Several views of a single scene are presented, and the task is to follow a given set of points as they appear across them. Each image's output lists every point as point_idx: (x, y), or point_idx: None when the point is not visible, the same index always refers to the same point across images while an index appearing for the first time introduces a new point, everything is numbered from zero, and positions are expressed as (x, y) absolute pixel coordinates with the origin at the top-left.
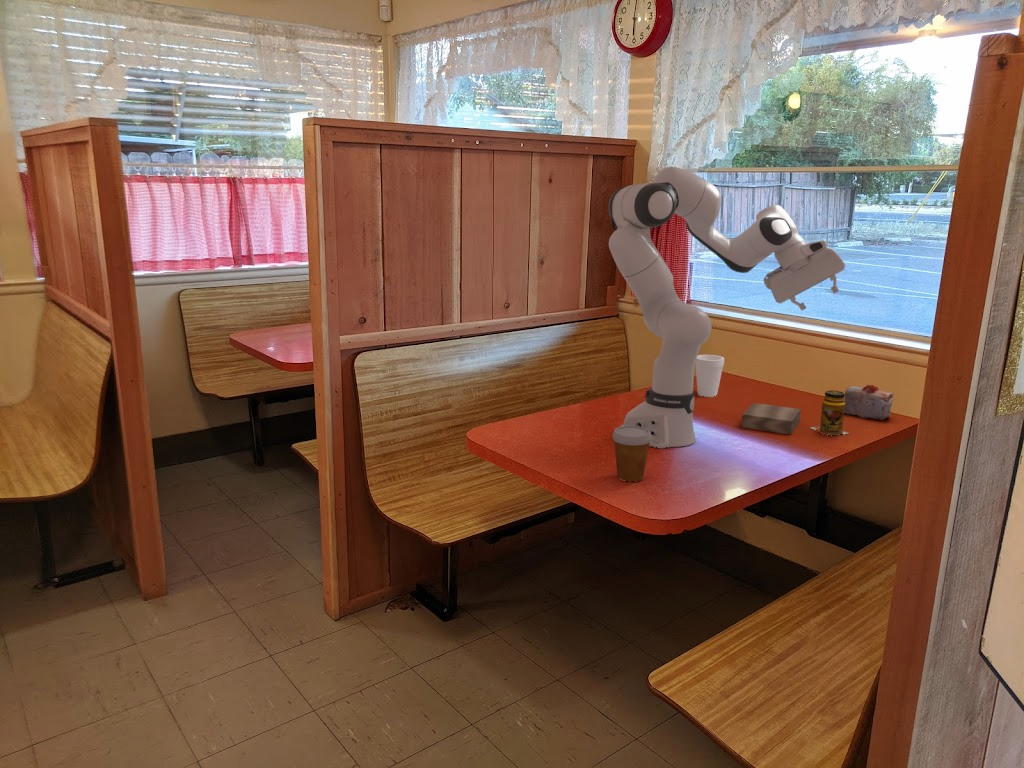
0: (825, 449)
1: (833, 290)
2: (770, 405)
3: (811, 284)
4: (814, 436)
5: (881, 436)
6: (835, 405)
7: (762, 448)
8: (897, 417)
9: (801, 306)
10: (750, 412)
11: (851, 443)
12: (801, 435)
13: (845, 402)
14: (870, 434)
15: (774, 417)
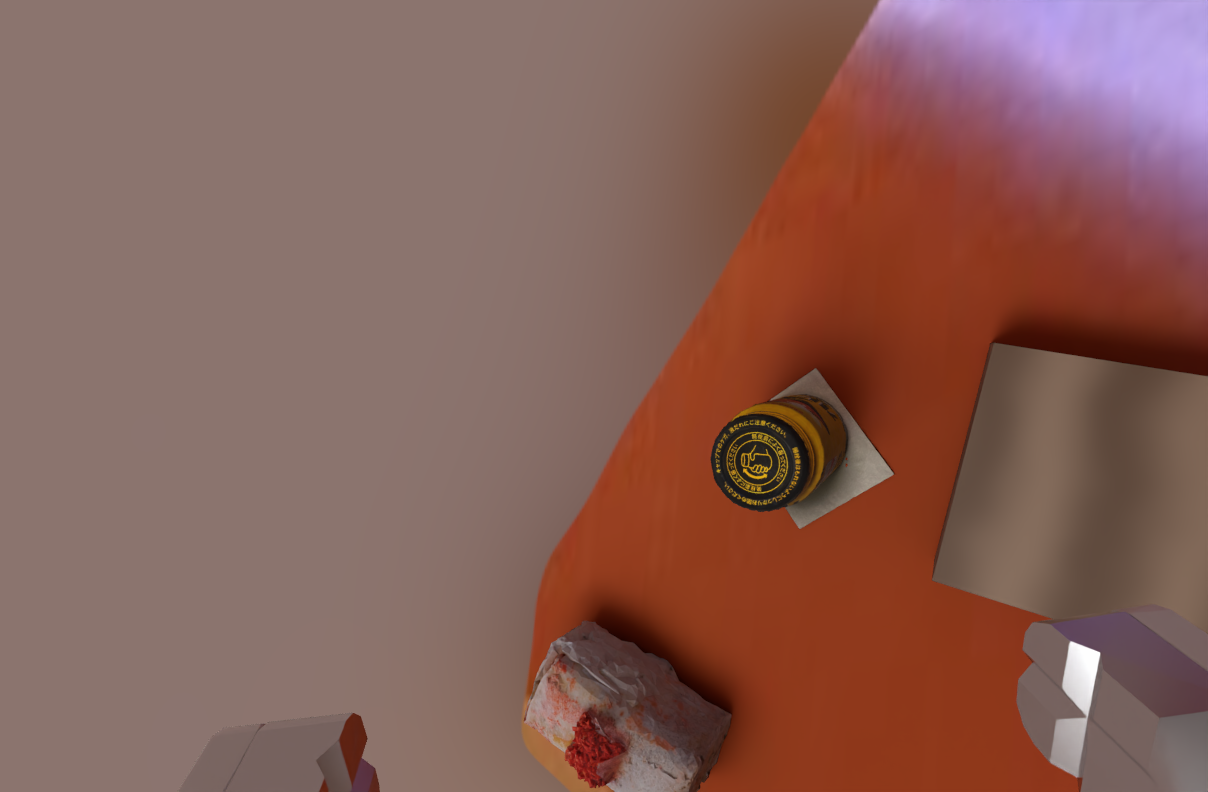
0: (842, 187)
1: (311, 747)
2: None
3: None
4: (876, 353)
5: (627, 431)
6: (766, 404)
7: (1165, 59)
8: None
9: (1170, 654)
10: None
11: (735, 308)
12: (937, 349)
13: (711, 731)
14: (660, 446)
15: (1102, 386)
